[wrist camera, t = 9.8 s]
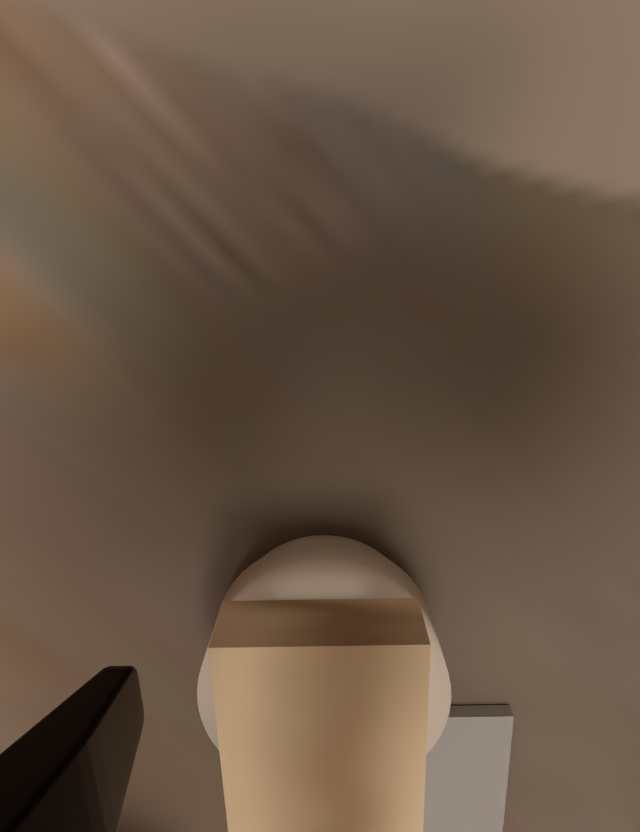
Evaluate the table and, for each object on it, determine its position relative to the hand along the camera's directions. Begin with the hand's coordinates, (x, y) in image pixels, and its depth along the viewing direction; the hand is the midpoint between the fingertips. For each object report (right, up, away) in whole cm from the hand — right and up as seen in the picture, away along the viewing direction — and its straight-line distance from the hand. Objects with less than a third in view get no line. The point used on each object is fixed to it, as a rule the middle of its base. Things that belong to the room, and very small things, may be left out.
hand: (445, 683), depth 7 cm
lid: (-2, -6, +9) cm, 11 cm away
